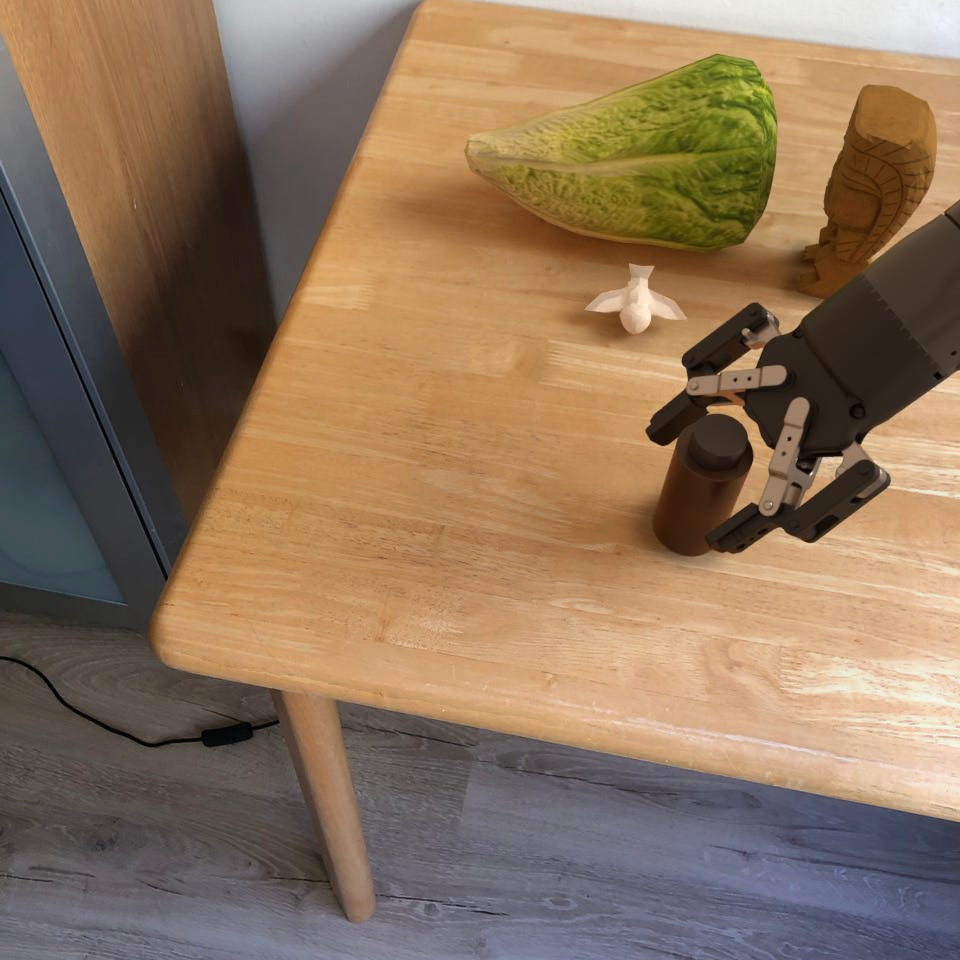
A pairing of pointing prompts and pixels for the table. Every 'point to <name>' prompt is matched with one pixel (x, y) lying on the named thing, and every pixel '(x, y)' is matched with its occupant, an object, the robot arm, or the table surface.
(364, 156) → the table surface
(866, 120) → the figurine
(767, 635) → the table surface
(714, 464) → the pepper mill
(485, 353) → the table surface
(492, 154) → the lettuce
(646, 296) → the toy bird
